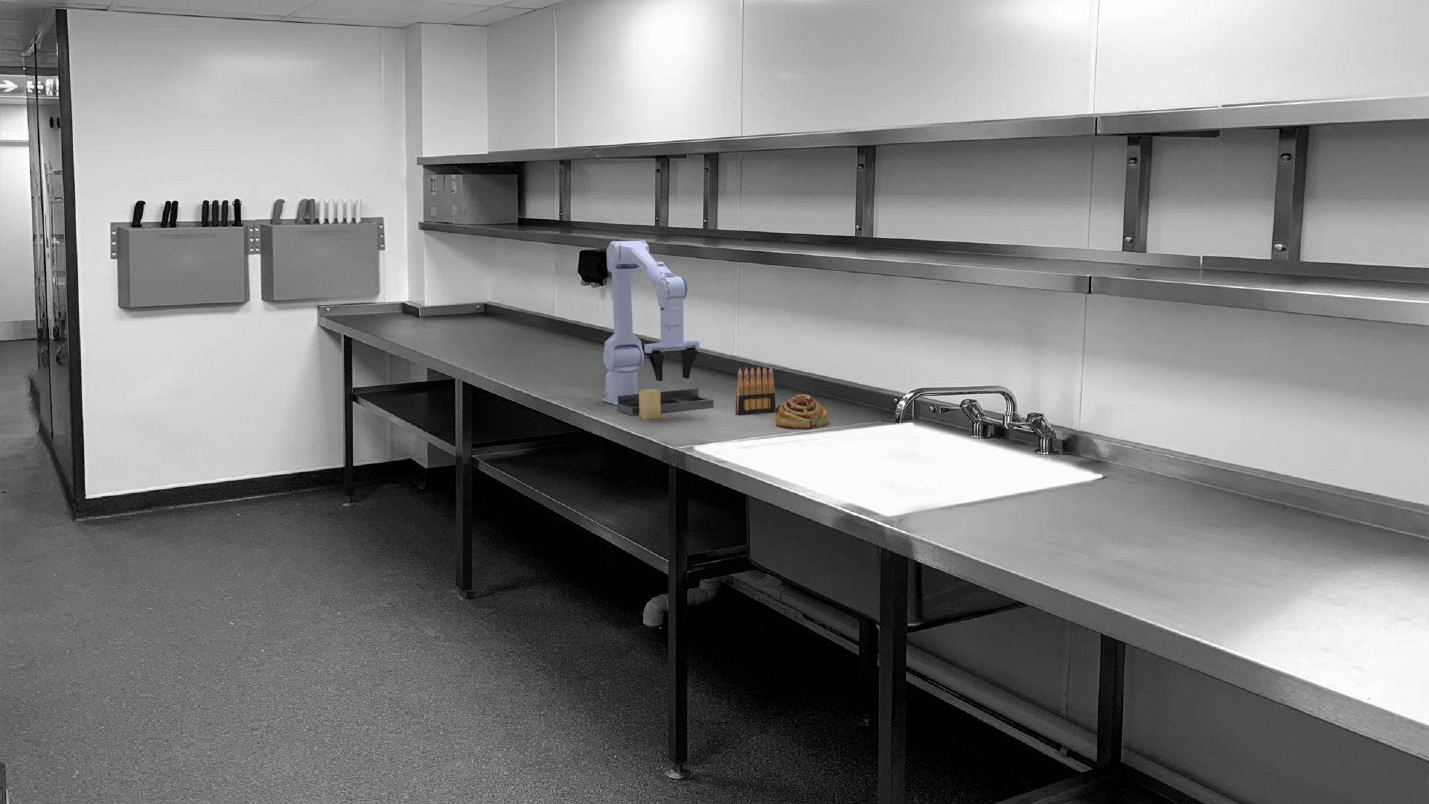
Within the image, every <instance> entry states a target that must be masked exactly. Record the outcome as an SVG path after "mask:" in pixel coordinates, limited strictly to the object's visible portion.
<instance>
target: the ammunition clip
mask: <svg viewBox="0 0 1429 804" xmlns="http://www.w3.org/2000/svg"><path fill="white" fill-rule="evenodd" d="M737 374H738V375H737V384H736V395H735V415H737V416H746V415H748V416H749V415H759V414H768V413H769V414H770V413H771V414H772V413H776V408H777V407H776V394H775V393H776V392H775V380H774V370H773V366H770V367H769V370H768V371H767V368H766V366H764V367H763V370H762V373H761V368H760V367H759V366H758V367H757V368H756V373H755V369H754V367H751V369H750V374H749V371H748V368H747V367H745V369H744V373H743V372H742V369H741V368H739V369H738V372H737ZM761 374H762V375H761ZM749 375H750V376H749Z"/></svg>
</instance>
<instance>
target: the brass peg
mask: <svg viewBox="0 0 1429 804" xmlns="http://www.w3.org/2000/svg"><path fill="white" fill-rule="evenodd" d="M660 392H661V390H658V389H655V388H645V389H639V390H638V394H639V415H638V416H639V418H642V419H644V420H646V421H647V420H655V419H661V418H662V417H661V414H662V413H661V405H660Z"/></svg>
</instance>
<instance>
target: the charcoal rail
mask: <svg viewBox="0 0 1429 804" xmlns="http://www.w3.org/2000/svg"><path fill="white" fill-rule="evenodd" d="M617 398H618V405H617V411H618V412H620V413H623V414H626V415H628V416H631V417H635V416H636V417H637V416H639V393H637V394H632V395H622V396H617ZM714 404H715V403H714V399H712V398H708V397H704V396H702V395H699V387H694V388H684V389H683V388H682V389H674V390H665V391H664V390H663V391H660V405H661V414H665V413H673V412H674V413H675V412H680V411H684V412H685V411H692V410H701V409H710V408H714V407H715V406H714Z"/></svg>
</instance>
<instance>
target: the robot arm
mask: <svg viewBox="0 0 1429 804" xmlns="http://www.w3.org/2000/svg"><path fill="white" fill-rule="evenodd" d="M606 266H607V267H606V269H607V271H608V272H610V273H611V284H612V285H611V287H612V289H611V290H612V311H613V317H612V318H613V331H614V332H613V334H612V335H611V336H610V337H609V338H608V339H607V340H605V342H604V348H603V349H604V351H603V354H602V355H603V356H602V357H603V358H602V360H603V364H604V366H605V367H606V370H608V371H607V373H606V375H605V398H603V399H602V401H603V402H606V403H609V404H612V405H615V406H618V398H617V396H622V395H632V394H638V371H639V370H640V367H641V366H642V365H643V363H644V359H645V356H644V355H645V354H644V353H646V356H647V358H648V360H649V362H650V363H651V364H650V365H651V367H652V369H653V373H654V376H655V381H658V382H663V378H664V377H663V371H664V370H663V367H664V360H665V354H663V353H662V352H669V351H670V352H671V351H673V352H674V351H679V352H680V357H681V365H682V368H681V369H682V371H681V373H682V374H681V375H682V378H683V379H688V380H689V379H690V375H691V371H692V368H693V364H694V362H695V360H696V359H697V356H698V354H699V351H698V350H700V341H699V340H684V337H685V335H684V300H685V299H686V298H687V296H688V289H689V288H688V283H687V280H686V279H685V277H684V275H675V274H674V273H673V272H672V271H671V270H670V269H669V268H668V267H667V266H666V265H665V263H664V262H663V261H656V260H655V259H654V257H653V256H652V255H651V253H650V246H649V244H648V243H647V241H645V240H644V239H639V240H622V241H621V240H620V241H616V240H611V242H610V243H609V244H608V246H607V248H606ZM640 269H642V270H643V271H644V272H645V274H644V275H645V278H646V280H647V281H648V282H649V283H650V285H652V287H653V288H654V289H655V293H656V295H655V296H656V298H657V305H658V307H659V308H660V309H659V310H660V313H659V314H660V315H659V316H660V318H659V319H660V342H655V343H647V344H645V343H644V351H643V347H642V340H641V339H640V338H638V337H637V336H636V335H634V328H633V307H632V279H631V277H632V275H633V273H634V272H635V271H638V270H640ZM641 368H642V367H641Z"/></svg>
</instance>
